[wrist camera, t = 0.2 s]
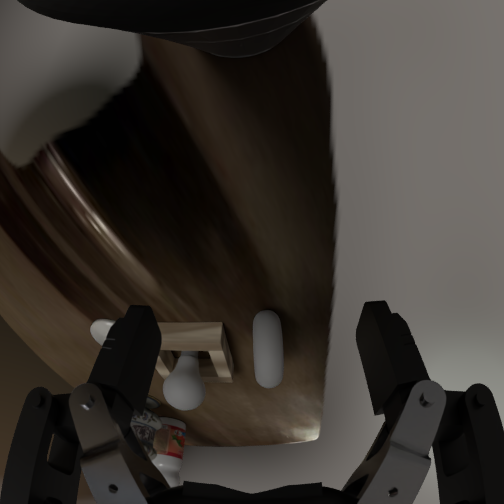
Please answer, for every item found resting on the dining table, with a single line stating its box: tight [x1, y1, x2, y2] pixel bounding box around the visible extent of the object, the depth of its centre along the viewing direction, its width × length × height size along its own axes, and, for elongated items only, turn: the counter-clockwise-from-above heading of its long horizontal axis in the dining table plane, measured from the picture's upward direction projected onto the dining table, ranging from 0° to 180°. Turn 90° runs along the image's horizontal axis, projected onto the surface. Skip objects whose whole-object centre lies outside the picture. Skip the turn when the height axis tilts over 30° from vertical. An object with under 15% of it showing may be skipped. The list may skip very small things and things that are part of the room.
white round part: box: [90, 319, 116, 345], centre depth 41 cm, size 9×9×1 cm
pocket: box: [155, 322, 234, 382], centre depth 40 cm, size 12×12×4 cm
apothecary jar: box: [131, 395, 162, 460], centre depth 52 cm, size 12×12×18 cm
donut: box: [253, 310, 284, 388], centre depth 33 cm, size 10×4×10 cm, turn 3°
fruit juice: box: [151, 417, 186, 487], centre depth 58 cm, size 9×9×28 cm
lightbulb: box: [163, 351, 206, 410], centre depth 38 cm, size 6×6×11 cm
